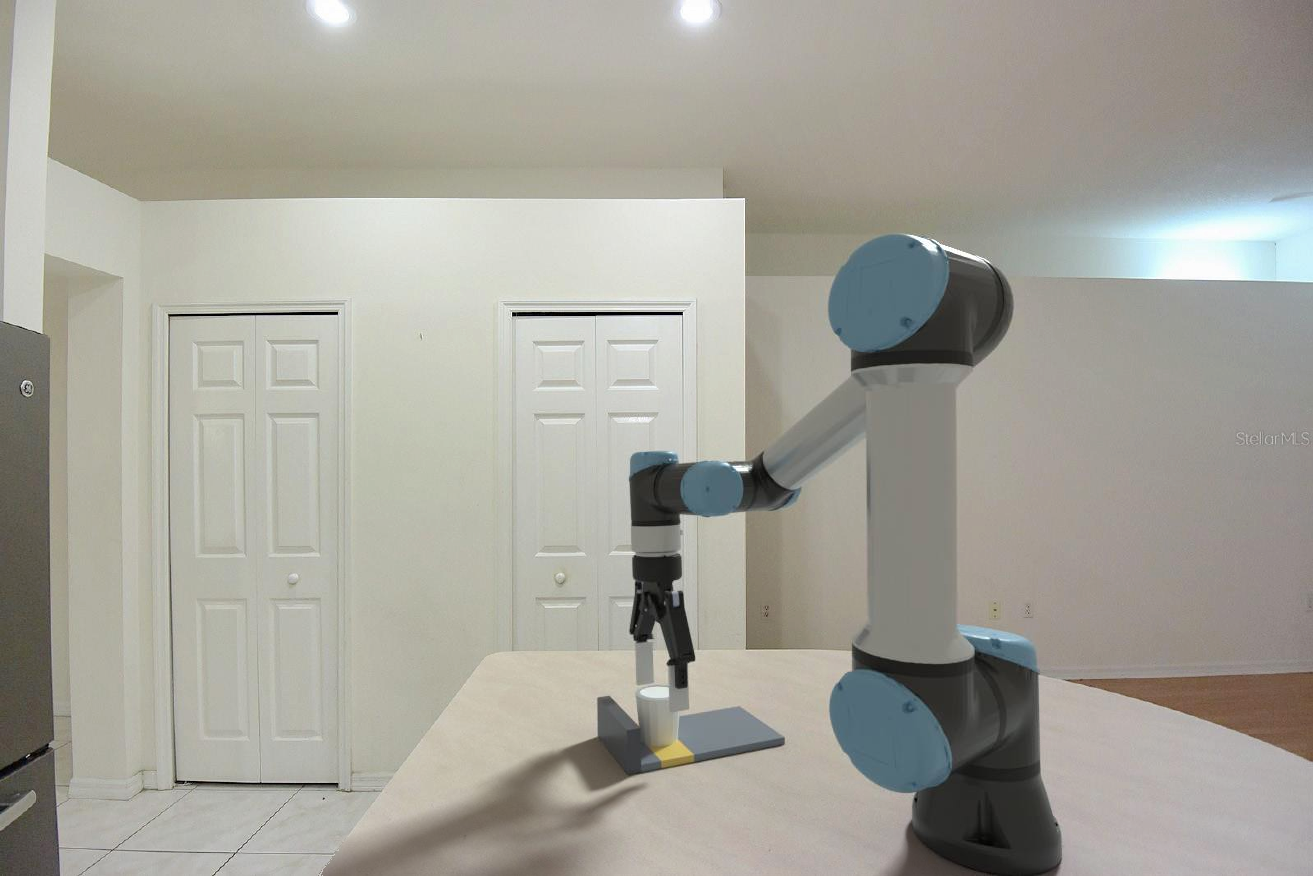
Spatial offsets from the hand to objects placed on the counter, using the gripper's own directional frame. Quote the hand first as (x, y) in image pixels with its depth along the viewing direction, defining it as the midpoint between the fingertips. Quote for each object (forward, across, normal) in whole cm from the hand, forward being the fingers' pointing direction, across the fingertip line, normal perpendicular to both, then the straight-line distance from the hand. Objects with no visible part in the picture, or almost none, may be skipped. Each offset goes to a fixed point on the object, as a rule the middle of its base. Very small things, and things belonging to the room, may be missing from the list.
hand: (661, 696), depth 101 cm
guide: (+7, +1, -5) cm, 9 cm away
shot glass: (+7, +1, 0) cm, 7 cm away
